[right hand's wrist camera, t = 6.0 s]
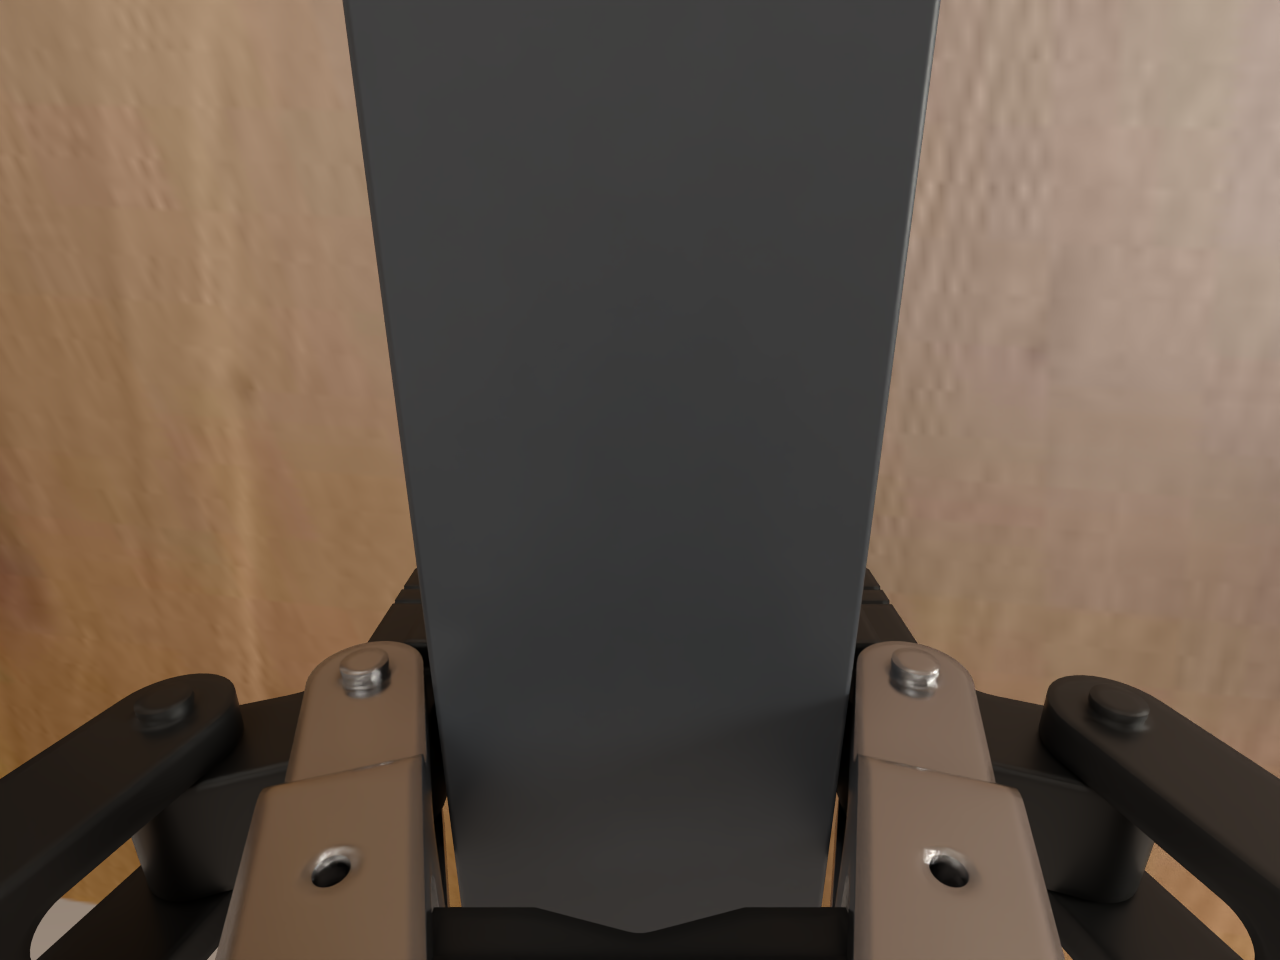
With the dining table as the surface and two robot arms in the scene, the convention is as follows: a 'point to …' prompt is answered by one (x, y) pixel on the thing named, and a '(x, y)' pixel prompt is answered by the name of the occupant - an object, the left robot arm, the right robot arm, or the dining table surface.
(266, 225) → the dining table surface
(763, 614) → the bar
